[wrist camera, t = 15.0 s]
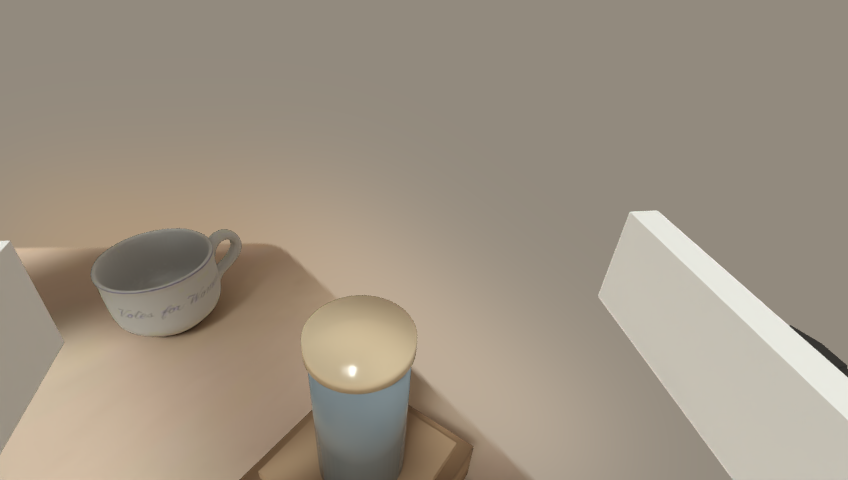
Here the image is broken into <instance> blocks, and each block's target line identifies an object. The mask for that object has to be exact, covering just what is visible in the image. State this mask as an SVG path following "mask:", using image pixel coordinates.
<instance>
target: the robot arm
mask: <svg viewBox="0 0 848 480" xmlns="http://www.w3.org/2000/svg"><path fill="white" fill-rule="evenodd" d="M598 297H599V299H600V300H601V301H602V303H603V304H604V305H605V307H606V308H607V309H608V311H609V312H610V314H611V315H612V316H613V318H614V319H615V320H616V322H617V323H618V324H619V326H620V327H621V328H622V330H623V331H624V333H625V334H626V335H627V336H628V338H629V339H630V341H631V342H632V343H633V345H634V346H635V348H636V349H637V350H638V352H639V353H640V354H641V356H642V357H643V358H644V360H645V361H646V362H647V364H648V365H649V367H650V368H651V369H652V370H653V372H654V373H655V375H656V376H657V377H658V379H659V380H660V382H662V384H663V385H664V387H665V388H666V390H667V391H668V392H669V394H670V395H671V396H672V398H673V399H674V400H675V402H676V403H677V405H678V406H679V407H680V409H681V410H682V411H683V413H684V414H685V415H686V417H687V418H688V420H689V421H690V422H691V423H692V425H693V426H694V428H695V429H696V430H697V432H698V433H699V435H700V436H701V437H702V439H703V440H704V441H705V443H706V444H707V445H708V447H709V448H710V450H711V451H712V452H713V454H714V455H715V456H716V458H717V459H718V460H719V462H720V463H721V464H722V466H723V467H724V469H725V470H726V471H727V473H728V474H729V475H730V477H731V478H732V479H733V480H848V369H847V365H846V364H845V363H843V362H842V361H841V360H840V359H839V358H838V357H837V356H835V355H834V354H833V353H832V352H831V351H830V350H828V349H827V348H826V347H825V346H824V345H822V344H821V343H820V342H818V341H816V340H815V339H813V338H811V337H809V336H808V335H806V334H804V333H803V332H801V331H799V330H798V329H796V328H794V327H793V326H791V325H790V326H789V325H787V324H786V323H785V322H784V321H783V320H782V319H781V318H779V317H778V316H777V315H776V314H775V313H774V312H773V311H771V310H770V309H769V308H768V307H767V306H766V305H765V304H763V303H762V302H761V301H760V300H759V299H758V298H757V297H755V296H754V295H753V294H752V293H751V292H749V290H747V289H746V288H745V287H744V286H743V285H742V284H741V283H739V282H738V281H737V280H736V279H735V278H734V277H733V276H732V275H730V274H729V273H728V272H727V271H726V270H725V269H724V268H722V267H721V266H720V265H719V264H718V263H717V262H716V261H714V260H713V259H712V258H711V257H710V256H709V255H708V254H706V253H705V252H704V251H703V250H702V249H701V248H700V247H698V246H697V245H696V244H695V243H694V242H693V241H692V240H690V239H689V238H688V237H687V236H686V235H685V234H684V233H682V232H681V231H680V230H679V229H678V228H677V227H676V226H674V225H673V224H672V223H671V222H670V221H669V220H668V219H666V218H665V217H664V216H663V215H662V214H661V213H660V212H658V211H636V212H630V213H629V215H628V218H627V221H626V223H625V226H624V228H623V231H622V234H621V236H620V239H619V242H618V244H617V247H616V250H615V252H614V255H613V258H612V260H611V263H610V266H609V268H608V271H607V274H606V276H605V279H604V281H603V284H602V287H601V290H600V292H599V295H598ZM63 344H64V340H63V338H62V336H61V334H60V333H59V331H58V329H57V327H56V325H55V323H54V321H53V320H52V318H51V316H50V314H49V312H48V310H47V308H46V307H45V305H44V303H43V301H42V299H41V297H40V295H39V294H38V292H37V290H36V288H35V286H34V284H33V282H32V281H31V279H30V277H29V275H28V273H27V271H26V269H25V268H24V266H23V264H22V262H21V260H20V258H19V256H18V255H17V253H16V251H15V249H14V247H13V245H12V244H11V242H10V241H0V454H1V452H2V450H3V449H4V447H5V445H6V443H7V442H8V440H9V438H10V436H11V435H12V433H13V431H14V429H15V428H16V426H17V424H18V422H19V421H20V419H21V417H22V415H23V414H24V412H25V410H26V408H27V407H28V405H29V403H30V401H31V400H32V398H33V396H34V394H35V393H36V391H37V389H38V387H39V386H40V384H41V382H42V380H43V379H44V377H45V375H46V373H47V372H48V370H49V368H50V367H51V365H52V363H53V361H54V360H55V358H56V356H57V354H58V353H59V351H60V349H61V347H62V346H63Z"/></svg>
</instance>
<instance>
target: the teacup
mask: <svg viewBox="0 0 848 480" xmlns="http://www.w3.org/2000/svg"><path fill="white" fill-rule="evenodd" d="M226 239H229V240H230V243H231V245H230V248H229V250H228V252H227V254H226V255H225V256H224V258H223V259H222V260H221V261H220V262H219V263H218V264H216V261H215V258H214V257H215V253H216V248H217V246H218V244H219V243H220V242H221V241H223V240H226ZM241 247H242V244H241V240H240V238H239V237H238V235H237V234H236V233H234V232H233V231H231V230H227V229H221V230H218V231H216V232H214V233H213V234H212V235H211V236H210V237H209V238H208V237H206V236H205V235H203V234H202V233H199V232H197V231H193V230H189V229H180V228H176V229H162V230H155V231H150V232H146V233H142V234H138V235H136V236H133V237H130V238H128V239H125V240H123V241H121V242H119V243H117V244H115V245H114V246H112V247H111V248H109V249H107V250H106V251H105V252H104V253H102V254H101V255H100V256H99V257H98V258H97V260H96V261H95V262H94V264H93V266H92V269H91V279H92V281H93V283H94V285H95V286H96V287H97V288H98V290H99V293H100V295H101V297H102V299H103V301H104V303H105V305H106V307H107V309H108V310H109V312H110V314H111V316H112V317H113V319H114V320H115V321H116V322H117V324H118V325H119V326H120V327H122V328H123V329H125V330H126V331H128V332H130V333H133V334H136V335H140V336H150V337H154V336H170V335H174V334H178V333H181V332H184V331H186V330H188V329H190V328H192V327H194V326H195V325H197V324H198V323H199V322H200V321H202V320H203V319H204V318H205V317H206V316H207V315H208V314H209V313H210V312H211V311H212V310H213V309H214V307H215V306H216V304H217V302H218V300H219V297H220V293H221V282H220V280H221V278H222V276H223V274H224V272H225V271H226V270H227V269H228V268H229V267H230V266H231V265H232V264H233V263H234V261H235V260H236V259H237V257H238V256H239V254H240V252H241Z"/></svg>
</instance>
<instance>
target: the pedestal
mask: <svg viewBox="0 0 848 480" xmlns="http://www.w3.org/2000/svg"><path fill="white" fill-rule="evenodd" d="M472 450H473V446H472V445H471V444H469V443H468V442H466V441H464V440H463V439H461V438H460V437H458V436H457V435H455V434H453V433H452V432H450V431H449V430H447V429H446V428H444V427H442V426H441V425H439V424H438V423H436V422H435V421H433V420H431V419H430V418H428V417H427V416H425V415H424V414H422V413H420V412H419V411H417V410H416V409H414V408H413V407H411V406H409V405H408V412H407V424H406V437H405V449H404V461H403V467H402V470H401V473H400V475H399V477H398V479H397V480H464V478H465V476H466V475H467V472H468V468H469V463H470V459H471V455H472ZM240 480H322V477H321V474H320V470H319V463H318V454H317V445H316V437H315V428H314V419H313V411H312V410H311V411H310V412H309V413H308V414H307V415H306V416H305V417H304V418H303V419H302V420H301V421H300V422H299V423H298V424H297V425H296V426H295V427H294V428H293V429H292V430H291V431H290V432H289V433H288V434H287V435H285V436H284V437H283V438H282V439H281V440H280V441H279V442H278V443H277V444H276V445H275V446H274V447H273V448H272V449H271V450H270V451H269V452H268V453H267V454H266V455H265V456H264V457H263V458H262V459H261V460H260V461H259V462H257V463H256V464H255V465H254V466H253V467H252V468H251V469H250V470H249V471H248V472H247V473H246V474H245V475H244V476H243V477H242V478H241V479H240Z"/></svg>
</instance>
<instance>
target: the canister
mask: <svg viewBox="0 0 848 480" xmlns="http://www.w3.org/2000/svg"><path fill="white" fill-rule="evenodd" d="M416 346H417V330H416V326H415V324H414V322H413V320H412V319H411V317H410V315H409V314H408V313H407V312H406V311H405V310H404V309H403V308H401V307H400V306H399V305H397V304H395V303H393V302H391V301H389V300H386V299H383V298H380V297H375V296H367V295H358V296H349V297H344V298H340V299H337V300H334V301H332V302H329V303H327V304H325V305H324V306H322V307H321V308H319V309H318V310H317V311H315V312H314V313H313V314H312V315H311V316H310V318H309V319H308V320H307V322H306V323H305V325H304V327H303V330H302V334H301V349H302V357H303V362H304V365H305V367H306V369H307V371H308V376H309V385H310V394H311V402H312V411H313V419H314V428H315V437H316V445H317V454H318V463H319V470H320V474H321V477H322V480H397V479H398V477H399V475H400V473H401V470H402V467H403V461H404V449H405V437H406V424H407V412H408V400H409V388H410V376H411V366H412V364H413V362H414V359H415V355H416Z"/></svg>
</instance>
